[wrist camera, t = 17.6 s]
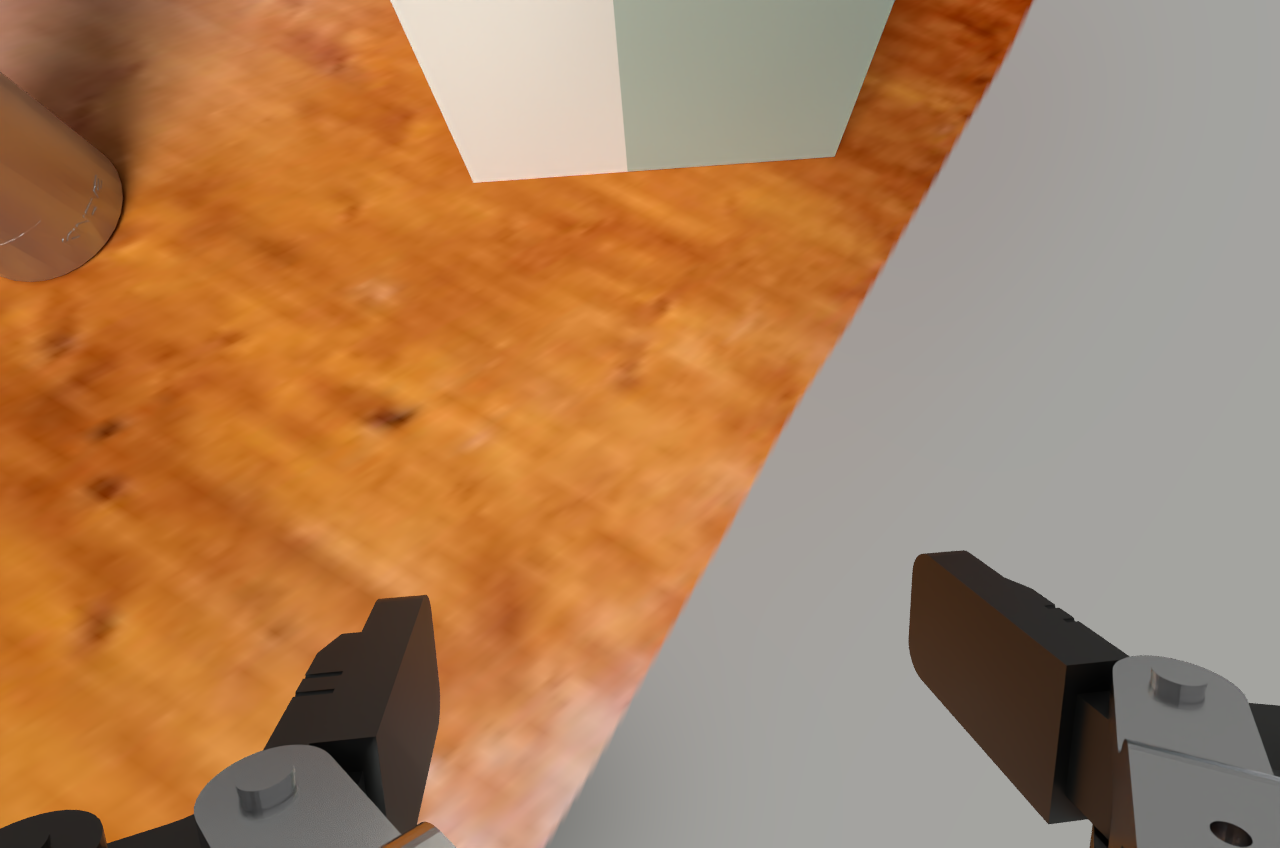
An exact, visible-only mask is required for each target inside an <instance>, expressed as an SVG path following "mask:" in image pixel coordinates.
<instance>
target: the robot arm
mask: <svg viewBox="0 0 1280 848" xmlns="http://www.w3.org/2000/svg"><path fill="white" fill-rule="evenodd" d="M122 201H123V194H122V184H121V181H120V178H119V175H118V172H117V170H116V169H115V167H114V166H113V164H112V163H111V161H110V160H109V159H108V158H107V157H106V156H105V155H103V154H102V153H101V152H100V151H99V150H98V149H96V148H95V147H94V146H93V145H91V144H90V143H89V142H88V141H86V140H85V139H84V138H83V137H81V136H80V135H79V134H78V133H76V132H75V131H74V130H73V129H71V128H70V127H69V126H68V125H66V124H65V123H64V122H63V121H61V120H60V119H59V118H58V117H56V116H55V115H54V114H53V113H52V112H51V111H49V110H48V109H47V108H45V107H44V106H43V105H42V104H40V103H39V102H38V101H37V100H35V99H34V98H33V97H32V96H30V95H29V94H28V93H27V92H25V91H24V90H23V89H22V88H20V87H19V86H18V85H17V84H15V83H14V82H13V81H12V80H10V79H9V78H8V77H7V76H5V75H4V74H3V73H2V72H0V276H1V277H4V278H8V279H11V280H15V281H25V282H35V281H43V280H49V279H53V278H56V277H59V276H62V275H65V274H67V273H69V272H71V271H73V270H74V269H76V268H78V267H80V266H82V265H83V264H84V263H85V262H87V261H88V260H89V259H91V258H92V257H93V256H94V255H95V254H96V253H97V252H98V251H99V250H100V249H101V248H102V247H103V246H104V245H105V243H106V242H107V241H108V239H109V237H110V236H111V234H112V233H113V231H114V229H115V227H116V225H117V222H118V219H119V217H120V214H121V208H122ZM912 574H913V575H912V590H911V608H910V626H909V650H910V655H911V659H912V663H913V665H914V668H915V670H916V672H917V674H918V675H919V677H920V678H921V680H922V681H923V682H924V683H925V684H926V685H927V687H928V688H929V689H930V690H931V691H932V692H933V693H934V694H935V696H936V697H937V698H938V699H939V700H940V701H941V702H942V704H943V705H944V706H945V707H946V708H947V709H948V710H949V712H950V713H951V714H952V715H953V716H954V717H955V718H956V720H957V721H958V722H959V723H960V724H961V725H962V726H963V727H964V729H965V730H966V731H967V732H968V733H969V734H970V735H971V737H972V738H973V739H974V740H975V741H976V742H977V743H978V745H979V746H980V747H981V748H982V749H983V750H984V751H985V753H986V754H987V755H988V756H989V757H990V758H991V759H992V760H993V762H994V763H995V764H996V765H997V766H998V767H999V768H1000V770H1001V771H1002V772H1003V773H1004V774H1005V775H1006V776H1007V777H1008V779H1009V780H1010V781H1011V782H1012V783H1013V784H1014V785H1015V787H1016V788H1017V789H1018V790H1019V791H1020V792H1021V793H1022V795H1023V796H1024V797H1025V798H1026V799H1027V800H1028V801H1029V803H1030V804H1031V805H1032V806H1033V807H1034V808H1035V809H1036V811H1037V812H1038V813H1039V814H1040V815H1041V816H1042V817H1043V818H1044V820H1045V821H1046V822H1047V823H1048V824H1054V823H1061V822H1069V821H1077V820H1084V819H1089V820H1090V821H1091V822H1092V824H1093V825H1092V833H1091V840H1090V848H1280V706H1276V705H1265V704H1253V703H1248V701H1247V699H1246V697H1245V695H1244V694H1243V693H1242V691H1241V690H1240V689H1239V688H1238V687H1236V686H1235V685H1234V684H1233V683H1231V682H1230V681H1228V680H1227V679H1225V678H1223V677H1222V676H1220V675H1218V674H1216V673H1214V672H1212V671H1209V670H1207V669H1205V668H1202V667H1200V666H1197V665H1194V664H1191V663H1188V662H1184V661H1180V660H1176V659H1172V658H1166V657H1159V656H1131V657H1129V656H1128V655H1126V654H1125V653H1124V652H1122V651H1121V650H1119V649H1118V648H1117V647H1115V646H1114V645H1112V644H1111V643H1109V642H1108V641H1106V640H1105V639H1104V638H1102V637H1101V636H1099V635H1098V634H1096V633H1095V632H1093V631H1092V630H1091V629H1089V628H1087V627H1086V626H1085V625H1083V624H1082V623H1080V622H1079V621H1077V622H1075V621H1074V618H1073V617H1072V616H1070V615H1069V614H1068V613H1066V612H1065V611H1063V610H1062V609H1060V608H1055V604H1053V603H1052V602H1050V601H1049V600H1047V599H1046V598H1044V597H1043V596H1042V595H1040V594H1039V593H1037V592H1036V591H1034V590H1033V589H1031V588H1029V587H1026V586H1024V585H1021V584H1019V583H1016V582H1014V581H1011V580H1009V579H1007V578H1004V577H1003V576H1001V575H1000V574H999V573H997V572H996V571H994V570H993V569H991V568H990V567H988V566H987V565H986V564H984V563H983V562H982V561H980V560H979V559H977V558H976V557H975V556H973V555H972V554H970V553H969V552H967V551H964V550H963V551H951V552H939V553H927V554H921V555H919V556H918V557H917V558H916V560H915V562H914V566H913V573H912ZM295 693H296V695H295V697H293V698H292V700H291V701H290V703H289V705H288V707H287V709H286V710H285V712H284V714H283V716H282V717H281V719H280V721H279V723H278V725H277V726H276V728H275V730H274V732H273V734H272V735H271V737H270V739H269V741H268V743H267V744H266V746H265V748H264V750H263V751H260V752H257V753H255V754H252V755H250V756H247V757H245V758H243V759H241V760H239V761H237V762H235V763H234V764H232V765H231V766H229V767H227V768H226V769H224V770H223V771H222V772H220V773H219V774H218V775H216V776H215V777H214V778H213V779H212V780H211V781H210V782H209V783H208V784H207V785H206V786H205V787H204V789H203V790H202V791H201V793H200V794H199V796H198V798H197V800H196V803H195V806H194V814H193V815H191V816H188V817H186V818H184V819H181V820H179V821H176V822H173V823H170V824H167V825H164V826H161V827H158V828H155V829H151V830H148V831H145V832H142V833H139V834H136V835H133V836H129V837H126V838H123V839H120V840H117V841H114V842H111V843H106V838H105V834H104V830H103V826H102V823H101V821H100V819H99V818H97V817H96V816H95V815H94V814H91V813H89V812H86V811H81V810H62V811H54V812H49V813H43V814H40V815H36V816H33V817H29V818H26V819H23V820H21V821H18V822H15V823H12V824H10V825H8V826H6V827H3V828H1V829H0V848H456V847H455V846H454V845H453V844H452V843H451V842H450V841H449V840H448V839H447V838H446V837H445V836H444V834H443V833H442V832H441V831H440V830H438V829H437V828H436V827H435V826H434V825H432V824H430V823H428V822H421V823H420V824H418V825H417V821H418V816H419V812H420V807H421V803H422V798H423V794H424V789H425V785H426V780H427V776H428V771H429V766H430V762H431V757H432V753H433V748H434V744H435V739H436V735H437V730H438V725H439V715H440V689H439V678H438V668H437V659H436V650H435V640H434V631H433V622H432V612H431V606H430V601H429V598H428V596H427V595H421V596H409V597H397V598H385V599H378V600H377V601H376V603H375V605H374V607H373V609H372V611H371V613H370V616H369V618H368V620H367V622H366V624H365V626H364V628H363V630H362V632H358V633H347V634H341V635H340V636H339V637H337V638H336V639H335V640H334V641H332V642H331V643H330V644H329V645H327V646H326V647H325V648H323V649H322V650H321V651H320V652H318V653H317V655H316V657H315V658H314V660H313V662H312V664H311V666H310V667H309V669H308V671H307V673H306V677H305V679H303V680H302V682H301V683H300V685H299V687H298V689H297V691H296V692H295Z"/></svg>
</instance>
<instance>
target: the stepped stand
mask: <svg viewBox="0 0 1280 848" xmlns="http://www.w3.org/2000/svg"><path fill="white" fill-rule="evenodd" d="M894 1H895V0H391V3H392V5H393V7H394V9H395V11H396V14H397V16H398V18H399V20H400V22H401V25H402V27H403V29H404V31H405V33H406V36H407V38H408V40H409V42H410V44H411V46H412V49H413V51H414V53H415V55H416V57H417V60H418V62H419V64H420V66H421V68H422V71H423V73H424V75H425V77H426V79H427V82H428V84H429V86H430V88H431V90H432V93H433V95H434V97H435V99H436V101H437V103H438V106H439V108H440V110H441V112H442V114H443V117H444V119H445V121H446V123H447V125H448V128H449V130H450V132H451V134H452V136H453V139H454V141H455V143H456V145H457V147H458V150H459V152H460V154H461V156H462V158H463V160H464V163H465V165H466V167H467V169H468V171H469V174H470V176H471V178H472V180H473V182H474V183H477V182H491V181H505V180H519V179H533V178H546V177H560V176H574V175H588V174H602V173H615V172H629V171H643V170H657V169H671V168H684V167H698V166H712V165H726V164H739V163H753V162H767V161H781V160H795V159H808V158H822V157H835V154H836V152H837V149H838V146H839V144H840V141H841V139H842V136H843V133H844V131H845V128H846V126H847V123H848V120H849V118H850V115H851V113H852V110H853V107H854V105H855V102H856V100H857V97H858V94H859V92H860V89H861V87H862V84H863V81H864V79H865V76H866V74H867V71H868V68H869V66H870V63H871V61H872V58H873V55H874V53H875V50H876V48H877V45H878V42H879V40H880V37H881V35H882V32H883V29H884V27H885V24H886V22H887V19H888V16H889V14H890V11H891V9H892V6H893V4H894Z"/></svg>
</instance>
